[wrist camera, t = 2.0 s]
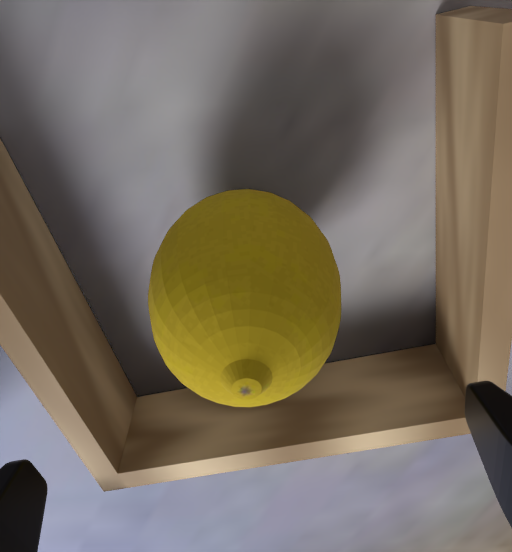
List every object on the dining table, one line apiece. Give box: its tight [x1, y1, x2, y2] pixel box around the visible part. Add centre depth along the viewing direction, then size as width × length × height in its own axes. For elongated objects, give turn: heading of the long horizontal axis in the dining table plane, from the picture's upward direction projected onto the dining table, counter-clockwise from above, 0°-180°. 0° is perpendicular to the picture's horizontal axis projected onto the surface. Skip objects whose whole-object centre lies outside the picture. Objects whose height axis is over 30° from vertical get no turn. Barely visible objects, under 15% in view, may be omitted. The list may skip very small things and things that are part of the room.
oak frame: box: [0, 6, 512, 491], centre depth 16 cm, size 16×14×4 cm
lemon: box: [148, 189, 341, 407], centre depth 13 cm, size 6×6×8 cm
